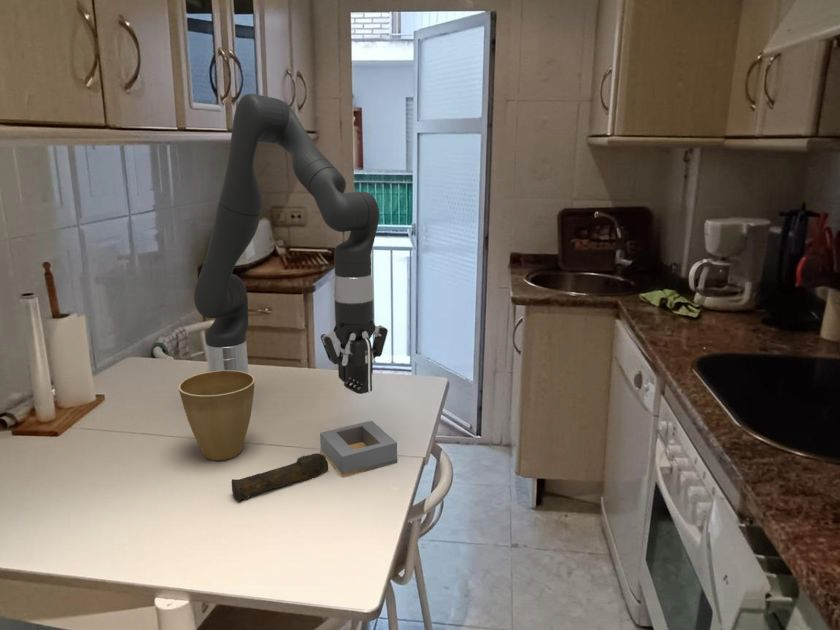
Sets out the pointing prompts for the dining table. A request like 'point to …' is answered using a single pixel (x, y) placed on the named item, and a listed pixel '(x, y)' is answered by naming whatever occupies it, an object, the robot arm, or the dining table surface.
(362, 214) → the robot arm
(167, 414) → the dining table surface
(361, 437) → the dock
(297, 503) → the dining table surface
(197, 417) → the plant pot
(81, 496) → the dining table surface
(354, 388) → the battery charger
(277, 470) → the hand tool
